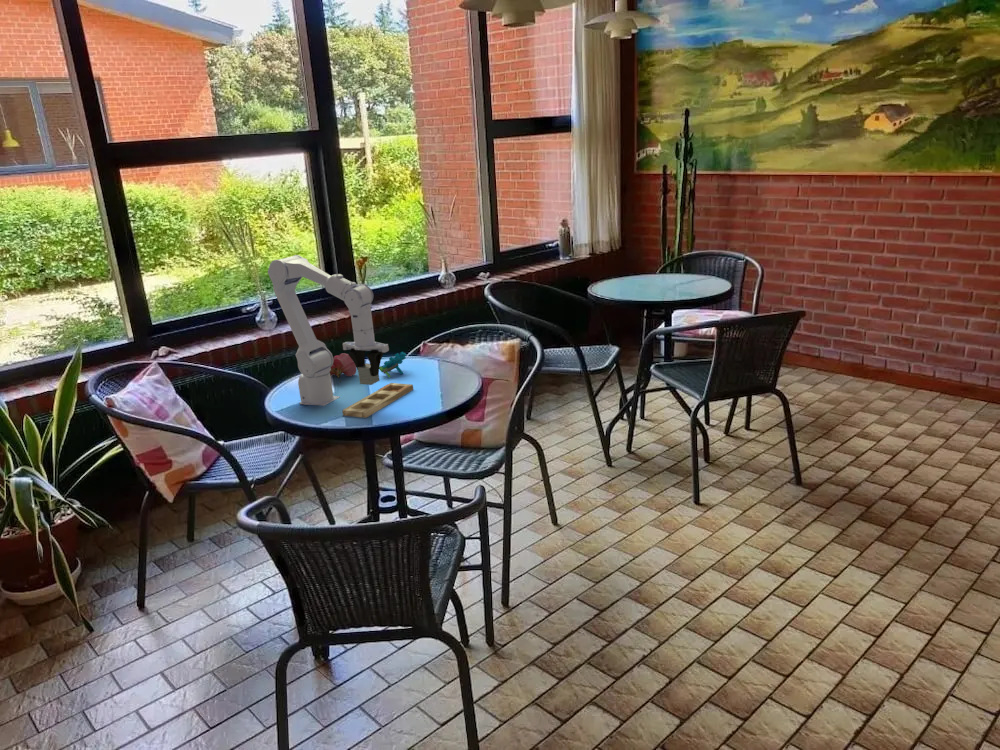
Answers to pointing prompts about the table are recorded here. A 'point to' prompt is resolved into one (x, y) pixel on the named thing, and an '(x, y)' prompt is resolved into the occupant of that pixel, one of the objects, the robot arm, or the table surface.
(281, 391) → the table surface
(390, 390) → the hole board
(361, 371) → the block
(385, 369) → the teal toy dinosaur
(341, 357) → the flower
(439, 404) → the table surface
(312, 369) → the robot arm
